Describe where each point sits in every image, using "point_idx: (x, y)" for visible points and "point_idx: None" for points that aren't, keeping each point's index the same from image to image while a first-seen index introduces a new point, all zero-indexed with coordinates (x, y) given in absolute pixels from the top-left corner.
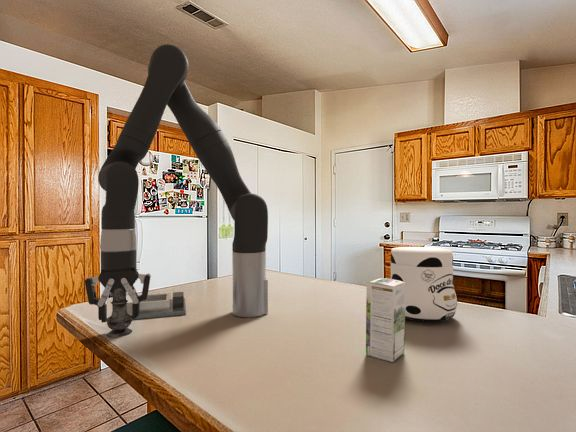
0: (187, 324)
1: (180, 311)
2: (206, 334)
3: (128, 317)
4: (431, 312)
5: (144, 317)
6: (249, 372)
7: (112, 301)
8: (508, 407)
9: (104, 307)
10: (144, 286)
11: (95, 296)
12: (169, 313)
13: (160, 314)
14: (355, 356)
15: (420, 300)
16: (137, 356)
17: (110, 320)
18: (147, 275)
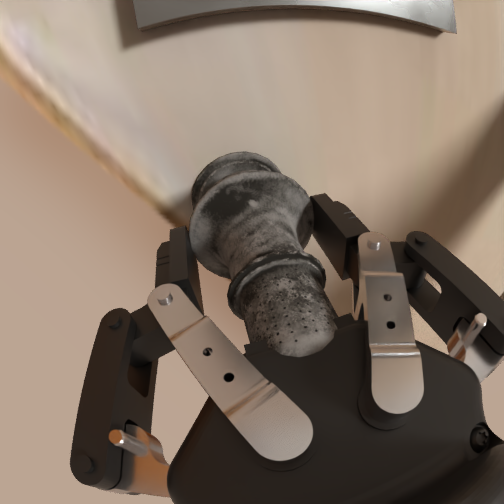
0: (442, 143)
1: (441, 29)
2: (452, 228)
3: (300, 244)
4: None
5: (300, 7)
6: (430, 335)
7: (240, 308)
8: None
9: (203, 314)
10: (444, 331)
11: (129, 346)
12: (406, 19)
13: (373, 13)
14: (500, 292)
15: None
16: None
17: (228, 272)
18: (487, 375)
